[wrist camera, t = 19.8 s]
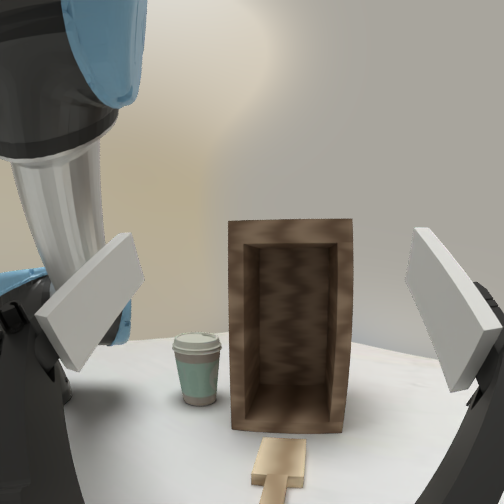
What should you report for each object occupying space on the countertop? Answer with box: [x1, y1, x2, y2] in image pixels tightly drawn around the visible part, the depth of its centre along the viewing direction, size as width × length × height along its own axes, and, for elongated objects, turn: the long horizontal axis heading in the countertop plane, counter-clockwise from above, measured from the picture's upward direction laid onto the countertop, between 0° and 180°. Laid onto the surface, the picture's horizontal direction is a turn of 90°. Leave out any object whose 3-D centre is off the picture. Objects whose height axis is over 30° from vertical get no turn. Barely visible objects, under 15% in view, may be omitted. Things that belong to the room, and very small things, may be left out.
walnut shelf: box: [228, 219, 353, 434], centre depth 45 cm, size 16×16×32 cm
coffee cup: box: [172, 332, 222, 406], centre depth 48 cm, size 9×8×12 cm
